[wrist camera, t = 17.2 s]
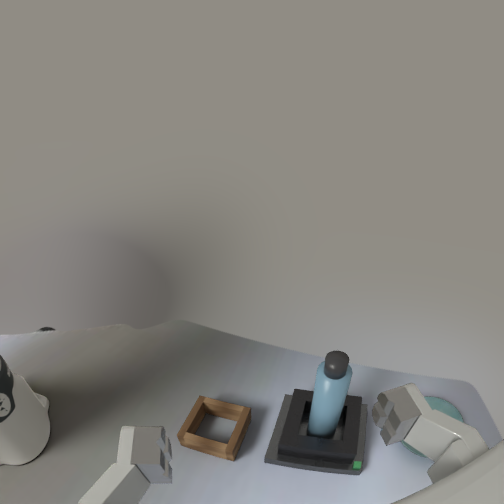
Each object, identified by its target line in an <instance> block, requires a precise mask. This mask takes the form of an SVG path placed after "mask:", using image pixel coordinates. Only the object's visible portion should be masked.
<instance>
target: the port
mask: <svg viewBox="0 0 504 504" xmlns="http://www.w3.org/2000/svg"><path fill="white" fill-rule="evenodd" d="M313 394H314V391H307V390H300V389H294V393H293V396H292V395H286V394H285V397H284V400H283V403H282V407H281V410H280V413H279V416H278V419H277V422H276V425H275V429H274V432H273V435H272V438H271V441H270V444H269V447H268V449H267V452H266V455H265V463H270V464H275V465H281V466H286V467H292V468H298V469H305V470H312V471H319V472H328V473H337V474H348V475H359V474H360V473H361V471H362V464H363V455H364V445H365V434H366V420H367V404H361V403H362V397H358V396H348V395H346V399H345V402H344V405H343V409H342V412H341V415H340V419H339V422H338V425H337V428H336V431H335V434H334V436H333V438H332V439H325V438H317V437H310V436H308V435H307V427H308V422H309V416H310V411H311V405H312V400H313Z"/></svg>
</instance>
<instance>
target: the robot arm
mask: <svg viewBox="0 0 504 504" xmlns="http://www.w3.org/2000/svg"><path fill="white" fill-rule="evenodd" d="M377 399H378V402H377V403H376V404H375V405H374V407H373V410H372V416H373V420H374V422H375V424H376V426H378V427H380V428H381V433H380V434H381V436H382V438H383V440H384V442H385V444H386V446H387V445H390V444H393V443H396V442H399V441H402V440H404V441H405V442H406V443H408V444H409V445H411V446H412V447H413V448H415V449H416V450H418V451H419V452H421V453H422V454H424V455H425V456H427V457H428V458H430V459H431V460H433V461H434V462H435V463H434V464H433V465H432V466H431V467H430V468H429V469H428V472H427V473H428V475H429V477H430V479H431V480H432V482H433V484H432V485H430V486H428V487H426V488H424V489H422V490H420V491H418V492H416V493H414V494H412V495H410V496H407V497H405V498H403V499H401V500H398V501H396V502H394V503H391V504H504V440H502V441H501V442H500V443H498V444H497V445H495V446H494V447H493V448H491V449H489V448H488V446H487V445H486V443H485V442H484V440H483V439H482V437H481V436H480V434H479V433H478V431H477V430H476V429H475V428H473V427H471V426H469V425H467V424H465V423H463V422H460V421H458V420H456V419H454V418H452V417H450V416H448V415H446V414H444V413H442V412H440V411H438V410H436V409H434V410H432V409H431V407H430V406H429V404H428V403H427V401H426V400H425V398H424V397H423V395H422V394H421V392H420V391H419V389H418V388H417V386H416V385H415V384H413V383H409V384H406V385H404V386H400V387H397V388H394V389H391V390H388V391H385V392H382V393H380V394H379V395H378V398H377ZM48 408H49V400H48V399H47V398H46V397H45V396H43V395H40V394H37V393H35V392H33V390H32V389H31V388H30V386H29V385H28V384H27V382H26V381H25V379H24V378H23V377H22V376H19V375H17V374H15V373H12V372H11V371H10V369H9V367H8V365H7V363H6V362H5V360H4V359H3V358H2V356H1V355H0V465H1V464H9V465H20V464H24V463H27V462H29V461H31V460H33V459H34V458H35V457H37V456H38V455H39V454H40V453H41V451H42V450H43V449H44V447H45V446H46V444H47V441H48V439H49V435H50V421H49V417H48ZM171 459H172V450H171V444H170V440H169V438H168V437H167V436H165V429H164V427H163V426H160V427H143V426H123V427H122V429H121V433H120V440H119V449H118V457H117V463H113V464H112V465H111V466H110V467H109V468H108V470H107V471H106V472H105V473H104V474H103V475H102V476H101V477H100V478H99V480H98V481H97V482H96V483H95V484H94V485H93V486H92V487H91V488H90V489H89V491H88V492H87V493H86V494H85V495H84V496H83V497H82V498H81V499H80V500H79V504H138V503H139V502H140V500H141V499H142V497H143V496H144V494H145V493H146V491H147V490H148V488H149V487H150V484H172V468H171V466H170V464H169V462H170V461H171Z"/></svg>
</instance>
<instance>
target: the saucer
mask: <svg viewBox="0 0 504 504" xmlns="http://www.w3.org/2000/svg"><path fill="white" fill-rule="evenodd" d="M424 398H425V400H426V401H427V403H428V404H429V406H430V407H431V409H432V410H434V409H436V410H438V411H440V412H442V413H444V414H446V415H448V416H450V417H452V418H454V419H456V420H458V421H460V422H463V423H464V421H463V418H462V416H461V414H460V413H459V411H458V410H457V409H456V408H455V407H454V406H453V405H452V404H450V403H449V402H447V401H445V400H443V399H440V398H436V397H424ZM401 442H402V443H403V444H404V446H405V447H406V448H407V449H409V450H410V451H411V452H413V453H415V454H417V455H419V456H422V457H427V456H425V455H424V454H422V453H421V452H419V451H418V450H416V449H415V448H413V447H412V446H411V445H409V444H408V443H406V442H405V441H404V440H402V441H401ZM427 458H428V457H427Z"/></svg>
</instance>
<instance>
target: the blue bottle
mask: <svg viewBox="0 0 504 504" xmlns="http://www.w3.org/2000/svg"><path fill="white" fill-rule="evenodd" d="M348 363H349V357H348V355H347V354H346V353H344V352H341V351H332V352H329V353H328V354H327V356H326V358H325V361H324V362H322V363H321V364H320V365H319V366H318V369H317V375H316V382H315V388H314V394H313V400H312V405H311V411H310V416H309V422H308V427H307V435H308V436H310V437H317V438H325V439H332V438H333V436H334V434H335V431H336V428H337V425H338V422H339V419H340V415H341V412H342V409H343V405H344V402H345V399H346V395H347V392H348V388H349V384H350V381H351V377H352V369H351V367H350V365H349V364H348Z"/></svg>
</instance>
